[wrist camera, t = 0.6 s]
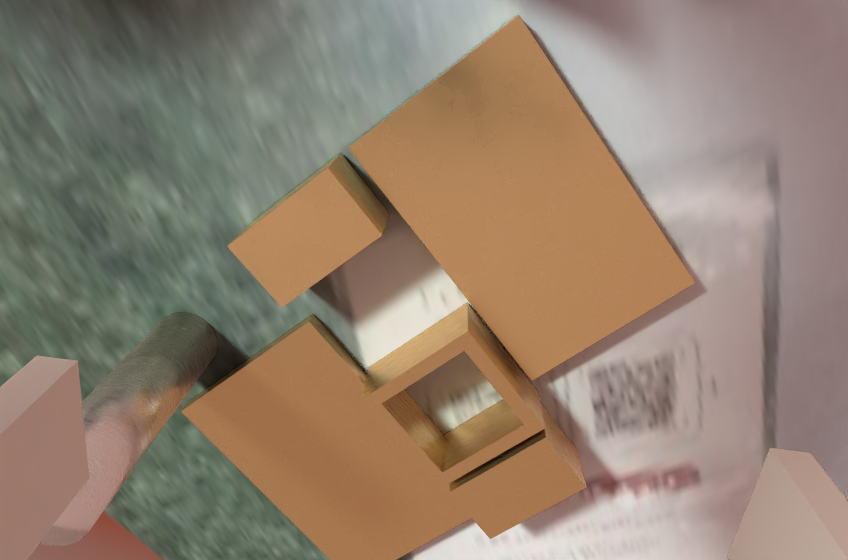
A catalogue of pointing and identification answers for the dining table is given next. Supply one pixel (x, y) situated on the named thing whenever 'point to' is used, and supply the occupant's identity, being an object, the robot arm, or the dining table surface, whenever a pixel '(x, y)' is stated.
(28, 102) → the dining table surface
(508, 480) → the fixed leaf
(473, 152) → the hinge flap with knuckles
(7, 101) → the dining table surface
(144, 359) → the pin
